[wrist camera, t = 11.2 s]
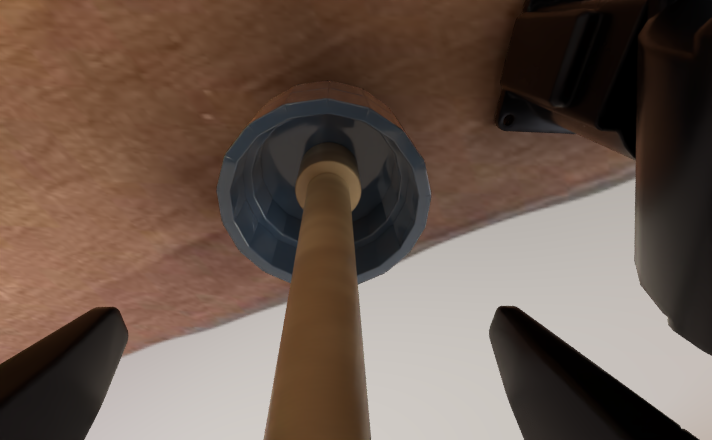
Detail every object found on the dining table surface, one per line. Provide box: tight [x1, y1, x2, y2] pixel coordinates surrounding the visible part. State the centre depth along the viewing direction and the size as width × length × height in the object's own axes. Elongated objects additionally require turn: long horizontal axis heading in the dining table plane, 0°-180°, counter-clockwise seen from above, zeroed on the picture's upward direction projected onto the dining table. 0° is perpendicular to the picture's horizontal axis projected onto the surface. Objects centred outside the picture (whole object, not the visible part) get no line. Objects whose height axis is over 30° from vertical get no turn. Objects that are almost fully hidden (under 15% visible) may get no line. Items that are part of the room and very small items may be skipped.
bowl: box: [216, 81, 431, 284], centre depth 15 cm, size 8×8×4 cm
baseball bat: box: [264, 142, 371, 440], centre depth 10 cm, size 3×3×13 cm
